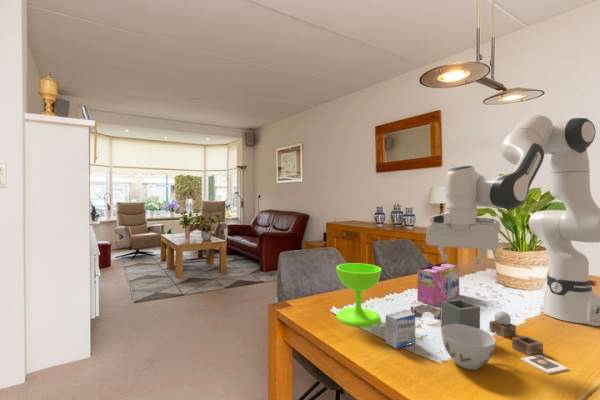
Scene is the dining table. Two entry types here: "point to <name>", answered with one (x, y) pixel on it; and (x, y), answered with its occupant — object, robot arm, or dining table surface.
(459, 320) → the charcoal tube
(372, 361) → the dining table surface
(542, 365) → the card
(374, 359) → the dining table surface
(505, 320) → the white ball
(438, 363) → the dining table surface
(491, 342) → the teacup
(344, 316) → the wineglass
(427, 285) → the gum box
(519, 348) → the walnut ball cups
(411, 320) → the medicine box
